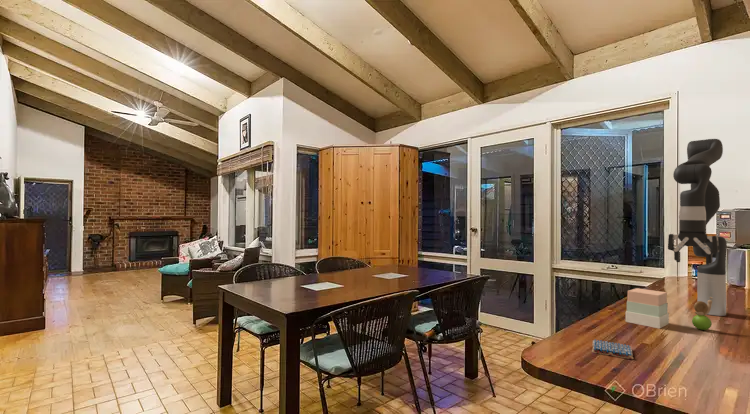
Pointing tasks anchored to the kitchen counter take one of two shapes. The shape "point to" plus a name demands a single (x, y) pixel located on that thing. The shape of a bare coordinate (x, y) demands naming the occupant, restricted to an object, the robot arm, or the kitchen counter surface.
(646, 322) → the stacked pastel boxes
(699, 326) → the snail figurine
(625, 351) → the woven mat
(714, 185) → the robot arm
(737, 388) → the kitchen counter surface
